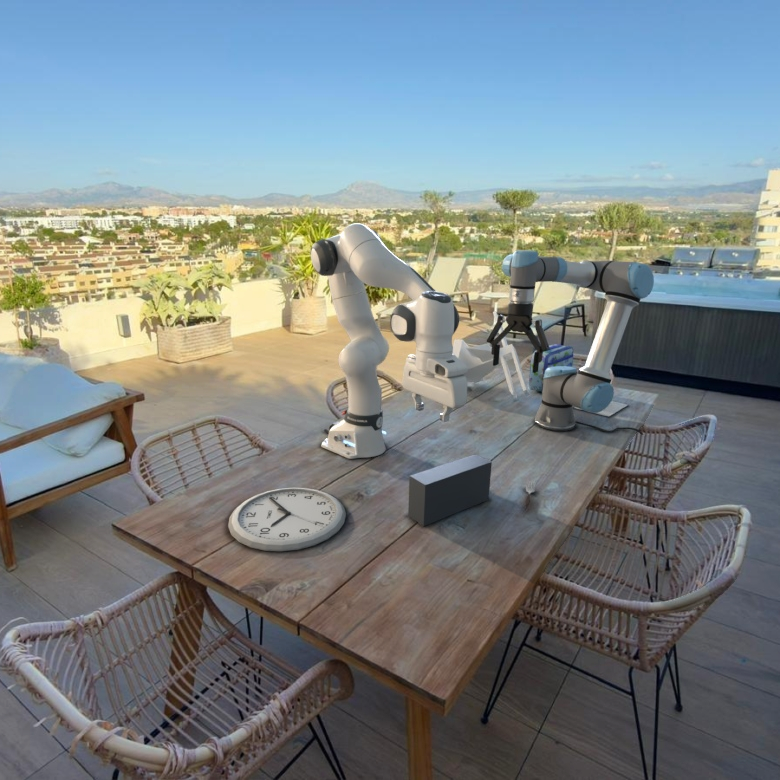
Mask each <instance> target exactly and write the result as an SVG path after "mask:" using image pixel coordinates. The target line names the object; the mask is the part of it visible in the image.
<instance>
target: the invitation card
mask: <svg viewBox="0 0 780 780" xmlns="http://www.w3.org/2000/svg"><path fill="white" fill-rule="evenodd" d="M628 406H629V404H627V403H623V402H618V401H614V400H612V401H611V402H610V404H609V405H608V406H607V407H606V408H605V409H603V410H602V411H601V412H598V413H595V414H596V415H600V416H604V417H608V418H609V417H611V416H613V415H614V414H616V413H617V412H619V411H621V410H623V409H624V408H626V407H628ZM573 409H575V410H581V411H583V410H582V409H580V408H578V407H575V406H573ZM587 413H590V412H589V411H587Z"/></svg>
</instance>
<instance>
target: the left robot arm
mask: <svg viewBox="0 0 780 780" xmlns="http://www.w3.org/2000/svg"><path fill="white" fill-rule="evenodd" d="M310 261H311V264H312V267H313V268H314V270H315V272H317V273H318V274H319V275H320V276H323V277H327V278H328V286H329V291H330V296H331V300H332V304H333V307H334V310H335V314H336V318H337V321H338V324H339V325H340V326H341V327H342V328H343V329H344V331H345V332H346V334H347V337H348V338H349V340H350V342H348V343H347V344H346V345H345V346H344V347H343V349H342V350H341V351H340V353H339V355H338V365H339V368H340V369H341V370H342V372H343V373H344V376H345V381H346V385H347V398H348V399H347V400H348V408H346V409H345V410H344V411H342V412H341V416H344V418H343V419H342V420H338V421H335V422H332V423H331V424H330V425H329V427H328V429H326V428H325V429H324V430H323V431H324V432H325V433H326V434H328V436H327V437H326V438H325V439H324V440H323V441H322V442H321V446H320V447H321V448H323V449H325V450H327V451H329V452H332V453H335V454H337V455H339V456H342V457H344V458H346V459H349V460H354V459H359V458H361V459H362V458H371V457H372V458H373V457H377V456H380V455H382V454H383V453H385V452H386V450H387V447H386V445H385V441H384V436H383V435H387V432H386V431H385V430H383V423H384V418H383V417H384V413H383V408H382V402H383V401H382V397H383V395H382V393H383V392H382V390H383V389H382V385H380V383H379V379H378V375H377V371H378V366H379V365H381V364H382V363H383V362H384V361H385V360H386V359H387V356H388V355H389V351H390V345H389V342H388V340H387V338H386V337H385V336H384V335H383V334H382V331H381V330H380V327H379V325H378V324H377V321H376V319H375V317H374V315H373V312H372V308H371V304H370V301H369V297H368V293H367V289H366V286H369V287H374V288H381V289H387V290H388V289H389V290H395V291H398V292H400V293H402V294H405V295H407V296H408V297H409V298H410V299H411V301H408V302H404V303H400V304H397V305H396V306H395V307H394V309H393V310H392V312H391V314H390V319H389V320H390V321H389V322H390V323H389V325H390V330H391V333H392V334H393V336H394V337H395V338H396V339H397V340H399V341H400V342H406V343H411V342H415V343H416V346H415V354H412V353H411V354H409V355H407V357H406V358H405V364H404V367H403V372H402V382H401V384H402V385H401V386H402V387H403V389H404V390H406V391H408V392H411V396H412V399H413V402H414V409H415V410H416V411H419V412H421V411H424V409H425V402H423V400H422V397H423V398H426V399H428V400H430V401H433V402H436V403H438V404H441V405H442V408H443V412H442V413H441V412H440V414H439V420H440V421H441V422H443V423H446V422H449V421H450V415H451V413H452V411H453V410H455V409H460V408H463V407H464V406H465V405H466V404H467V400H468V383H467V379H466V377H465V376H464V375H463V374H466V373H467V372H468V367H467V365H466V364H465V363H463V362H462V361H461V360H459V359H458V358H457V357H456V356H455V355H454V354H453V336H454V334H455V333H456V331H457V330H458V327H459V325H460V313H459V311H458V309H457V307H456V305H455V304H454V301H453V298H452V297H451V296H449V294H447V293H445V292H441V291H436V289H434V288H433V286H432V285H431V284H430V283H429V282H427V280H426V279H425V278H424V277H423V276H421V274H420V273H419V272H418V271H417V270H415V269H414V268H413V267H412V266H410V265H409V264H408V263H406V262H404V261H403V260H401V259H400V258H399V257H398V256H396V255H395V254H394V253H393V252H392V251H390V249H389V248H388V247H387V246H386V245H385V244H384V243H383V240H382V238H381V236H380V234H379V233H378V232H377V231H376V230H375V229H372V228H371V229H370V228H369V227H368V226H366V225H365V224H362V223H351V224H348V225H347V226H346V227H345V228H344V229H343V230H342V231H341V233H340V234H337V235H334V236H331V237H328V238H321V239H319V240H316V242H314V243H313V244H312V246H311V248H310Z"/></svg>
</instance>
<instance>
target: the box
mask: <svg viewBox="0 0 780 780" xmlns="http://www.w3.org/2000/svg"><path fill="white" fill-rule="evenodd" d="M492 465H493V464H492V461H491V460H489V459H486V458H484V457H482V456H480V455H479V454H476V453H474V454H471V455H469V456H465V457H462V458H459V459H456V460H453V461H450V462H447V463H444V464H441V465H438V466H435V467H431V468H429V469H426V470H422V471H420V472H417V473H414V474H411V475H409V476H408V477H409V479H408V481H409V482H408V509H407V510H408V511H407V515H408V517H409V518H411V519H413V520H414V521H415V522H416V523H418V524H419V525H421V526H422V527H425V526H428V525H431V524H434V523H435V522H438V521H441V520H442V519H445V518H447V517H450V516H452V515H455V514H457V513H460V512H462V511H464V510H467V509H470V508H472V507H474V506H477V505H479V504H482V503H485V502H487V501H489V499H490V487H491V479H492V478H491V477H492Z"/></svg>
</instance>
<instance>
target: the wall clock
mask: <svg viewBox="0 0 780 780" xmlns="http://www.w3.org/2000/svg"><path fill="white" fill-rule="evenodd" d="M346 518H347V513H346V509H345V506H344V505H343V503H341V501H340V500H339V499H338V498H336V497H334V496H332V495H331V494H330V493H327V492H324V491H321V490H318V489H313V488H308V487H283V488H277V489H272V490H267V491H264V492H261V493H258V494H255V495H253V496H252V497H250V498H248V499H246V500H244V501H243V502H242V503H240V504H239V505H238V506H237V507H236V508H234V510H233V511H232V513H231V514H230V516H229V518H228V524H227V528H228V530H229V532H230V535H231V536H232V538H234V539H235V540H236V541H237V542H238V543H239V544H242V545H244V546H246V547H249V548H251V549H256V550H261V551H266V552H287V551H288V552H289V551H299V550H302V549H306V548H310V547H313V546H316V545H318V544H320V543H323V542H325V541H328V540H329V539H330V538H332V537H333V536H334V535H336V534H337V533H339V531H340V530H341V528H342V527H343V526H344V524H345V521H346Z"/></svg>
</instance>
